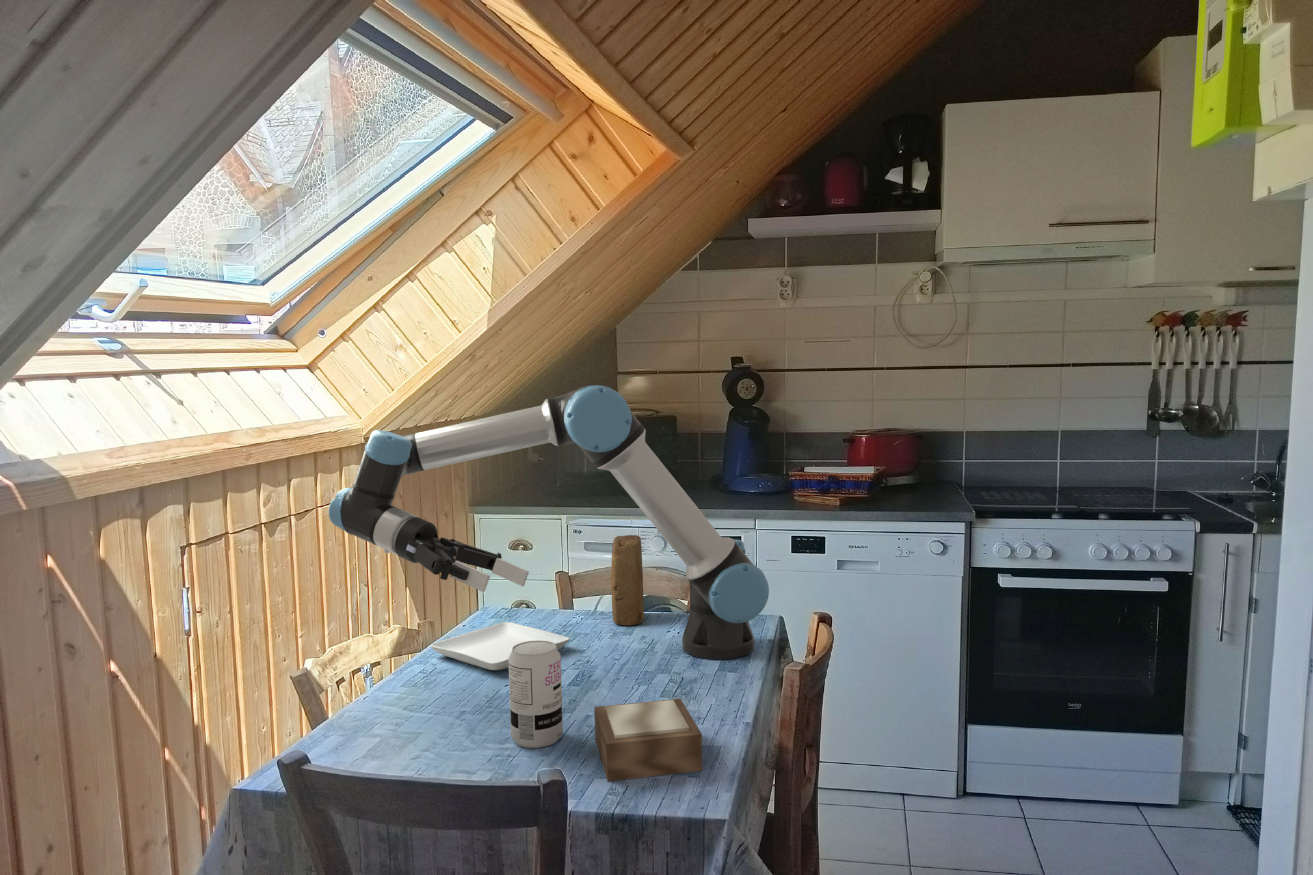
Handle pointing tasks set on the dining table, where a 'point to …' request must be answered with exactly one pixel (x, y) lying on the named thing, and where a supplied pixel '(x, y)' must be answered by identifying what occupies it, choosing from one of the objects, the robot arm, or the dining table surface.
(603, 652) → the dining table surface
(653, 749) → the walnut pedestal
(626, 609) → the block
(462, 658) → the salad plate
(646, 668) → the dining table surface
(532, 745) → the supplement can
